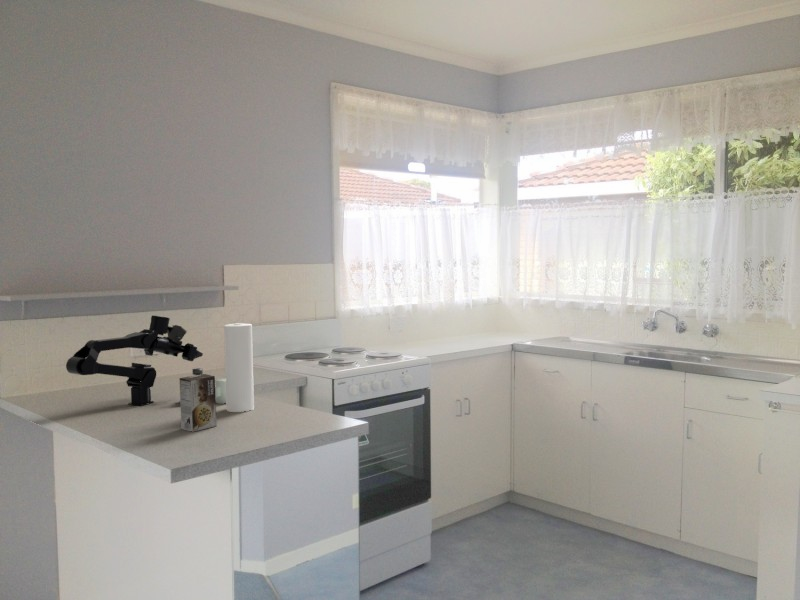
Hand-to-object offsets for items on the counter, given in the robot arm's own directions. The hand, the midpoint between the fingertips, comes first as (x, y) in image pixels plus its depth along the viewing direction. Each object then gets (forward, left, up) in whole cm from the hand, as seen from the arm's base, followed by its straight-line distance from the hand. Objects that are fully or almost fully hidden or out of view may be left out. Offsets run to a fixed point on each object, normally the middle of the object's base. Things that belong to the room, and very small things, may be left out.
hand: (194, 352), depth 284 cm
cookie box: (-47, -39, -16) cm, 63 cm away
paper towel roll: (-20, -35, -16) cm, 43 cm away
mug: (-11, -22, -16) cm, 29 cm away
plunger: (-14, -12, -10) cm, 21 cm away
